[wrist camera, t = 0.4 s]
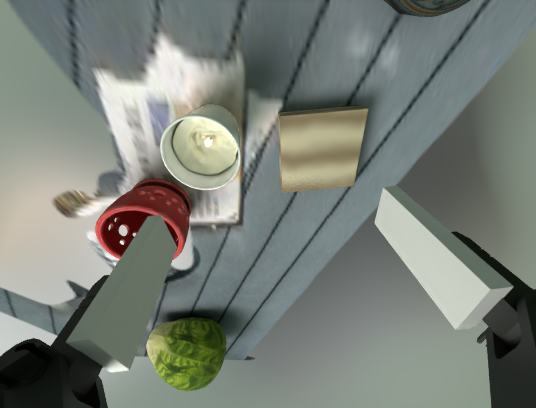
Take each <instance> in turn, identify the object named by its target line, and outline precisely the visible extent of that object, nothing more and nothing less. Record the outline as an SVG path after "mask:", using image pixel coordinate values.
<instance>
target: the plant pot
mask: <svg viewBox="0 0 536 408" xmlns="http://www.w3.org/2000/svg"><path fill="white" fill-rule="evenodd" d="M190 214H191V203H190V200H189V198H188V196H187V194H186V193H185V192H184V191H183V190H182V189H181V188H180V187H178V186H177V185H175V184H173V183H171V182H169V181H166V180H161V179H149V180H145V181H142V182H140V183H138V184H137V185H135V186H134V187H133V189H132V190H131V191H129V192H127V193H126V194H124V195H123V196H121V197H120V198H118V199H117V200H116V201H115V202H114V203H113V204H111V205H110V206H109V207H108V208H107V209H106V210H105V211H104V213H103V214H102V215H101V216H100V218H99V219H98V221H97V223H96V228H95V229H96V236H97V238H98V241H99V243H100V244H101V245H102V247H103V248H104V249H105V250H106V251H107V252H109V253H110V254H111V255H113V256H114V257H116V258H118V259H120V258H121V257H122V255H123V254H124V252H125V251H126V249H127V248H128V246H129V245H130V243H131V242H132V240H133V239H134V236H133V235H132V234H133V233H136V234H137V232H138V231H139V229H140V228H141V226H142V225H143V223H144V222H145V220H146V219H147V217H148V216H156V215H161V216H162V218H163V220H164V222H165V224H166V226H167V228H168V230H169V232H170V234H171V236H172V238H173V240H174V242H175V244H176V246H177V250H176V252H175V255H174V257H173V260H174V259H175V258H176V257H177V256H178V255H179V254H180V253H181V252H182V250H183V248H184V245H185V242H186V238H187V235H188V230H189V216H190ZM115 218H117V220H116V222H115V221H114V219H115ZM109 225H111V229H110V230H109V229H108V227H109ZM121 225H124V226H125V227H126V228H127V230H128V233H127V235H126V236H122V235H120V234H119V231H118V230H119V227H120V226H121ZM177 239H178V240H177ZM120 240H122V241H123V242H124V245H121V244H120ZM176 240H177V241H176Z"/></svg>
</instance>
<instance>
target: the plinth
mask: <svg viewBox="0 0 536 408" xmlns="http://www.w3.org/2000/svg"><path fill="white" fill-rule="evenodd" d="M367 114H368V108H365V107H363V106H360V105H359V106H347V107H336V108H324V109H312V110H301V111H289V112H278V128H279V156H280V184H281V189H282V193H284V192H294V191H305V190H316V189H326V188H337V187H348V186H354V181H355V175H356V170H357V165H358V160H359V155H360V150H361V145H362V139H363V134H364V129H365V124H366V119H367Z"/></svg>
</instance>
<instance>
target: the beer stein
mask: <svg viewBox="0 0 536 408" xmlns="http://www.w3.org/2000/svg"><path fill="white" fill-rule="evenodd" d="M384 1H385V2H387V3H388V4H389V5H390V6H391V7H392V8H393V9H395V10H396V11H397V12H398V13H400V14H406V15H413V16H420V17H433V16H438V15H442V14H445V13H448V12H450V11H453V10H455V9H457V8H459V7H460V6H462V5H464V4H466V3H467V2H469V1H470V0H384Z"/></svg>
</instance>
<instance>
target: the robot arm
mask: <svg viewBox="0 0 536 408" xmlns="http://www.w3.org/2000/svg"><path fill="white" fill-rule="evenodd" d="M375 225H376V226H377V227H378V229H379V230H380V231H381V232H382V234H383V235H384V236H385V238H386V239H387V240H388V242H389V243H390V244H391V246H392V247H393V248H394V250H395V251H396V252H397V253H398V255H399V256H400V257H401V259H402V260H403V261H404V263H405V264H406V265H407V267H408V268H409V269H410V271H411V272H412V273H413V274H414V276H415V277H416V278H417V280H418V281H419V282H420V284H421V285H422V286H423V287H424V289H425V290H426V291H427V293H428V294H429V295H430V297H431V298H432V299H433V301H434V302H435V303H436V305H437V306H438V307H439V309H440V310H441V311H442V312H443V313H444V315H445V316H446V318H447V319H448V320H449V321H450V323H451V324H452V326H453V327H454V328H455V329H456V330H458V329H466V328H474V327H476V326H477V325H478V324H479V322H480V321H481V320H483V321H484V322H485V323H486V324H487V325H488V326H489V327H488V328H487V329H486V330H485V331H484V332H483V333H482V334H481V335H480V336H479V337H478V339H477V342H478V343H482V342H483V341H484V340H485V339H486V340H487V345H486V347H487V353H488V367H489V380H490V393H491V407H492V408H536V289H534V290H533V289H532V288H530V287H529V286H528V285H526V284H525V283H524V282H523V281H521V280H520V279H519V278H518V277H517V276H515V275H514V274H513V273H512V272H510V271H509V270H508V269H507V268H505V267H504V266H503V265H502V264H501V263H499V262H498V261H497V260H496V259H494V258H493V257H490V255H489V254H488V253H487V252H486V251H484V250H483V249H481V247H480V246H478V245H477V244H476V243H475V242H473V241H472V240H471V239H470V238H468V237H466V236H464V235H462V234H460V233H458V232H450V231H449V230H447V229H446V228H445V227H444V226H443V225H441V224H440V223H439V222H438V221H437V220H436V219H435V218H433V217H432V216H431V215H430V214H429V213H428V212H426V211H425V210H424V209H423V208H422V207H421V206H419V205H418V204H417V203H416V202H415V201H414V200H412V199H411V198H410V197H409V196H407V194H405V193H404V192H403V191H402V190H401V189H400V188H398V187H397V186H391V187H383V191H382V195H381V199H380V203H379V207H378V211H377V215H376V219H375ZM176 250H177V246H176V244H175V242H174V240H173V238H172V236H171V234H170V232H169V230H168V228H167V226H166V224H165V222H164V220H163V218H162V216H161V215H156V216H148V217H147V219H146V220H145V222H144V223H143V225H142V226H141V228H140V229H139V231H138V232H137V234H136V235H135V237H134V239H133V240H132V242H131V243H130V245H129V246H128V248H127V249H126V251H125V252H124V254H123V255H122V257H121V258H120V260H119V261H118V263H117V264H116V266H115V268H114V269H113V271H112V272H111V274H110V275H105V276H103V277H102V278H101V279H100V280H99V281H97V282H96V283H95V284H94V285H93V286H92V288H91V289H90V291H89V292H88V293H87V295H86V296H85V299H83V301H82V302H81V303H80V305H79V306H78V307H79V308H78V309H76V311H75V312H74V313H73V315H72V316H71V318H70V319H69V321H68V322H67V324H66V325H65V326H64V328H63V329H62V331H61V332H60V334H59V335H58V336H57V338H56V339H55V341H54V342H53V344H52V345H51V346H49V345H47V344H46V343H44V342H42V341H41V340H38V339H34V338H33V339H29V340H25V341H23V342H21V343H19V344H17V345H15V346H13V347H12V348H11V349H9V350H8V351H6V352H5V353H4V354H3V355H2V356H0V408H108V406H107V403H106V398H105V393H104V388H103V384H102V380H101V379H100V377H99V376H98V375H99V373H100V371H101V369H102V367H103V368H105V369H106V370H108V371H109V372H119V371H126V370H130V368H131V365H132V363H133V360H134V358H135V355H136V353H137V350H138V347H139V345H140V342H141V340H142V337H143V335H144V332H145V329H146V327H147V324H148V322H149V319H150V317H151V314H152V311H153V309H154V306H155V304H156V301H157V299H158V296H159V293H160V291H161V288H162V286H163V283H164V281H165V278H166V275H167V273H168V270H169V268H170V265H171V263H172V260H173V257H174V255H175V252H176Z"/></svg>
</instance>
